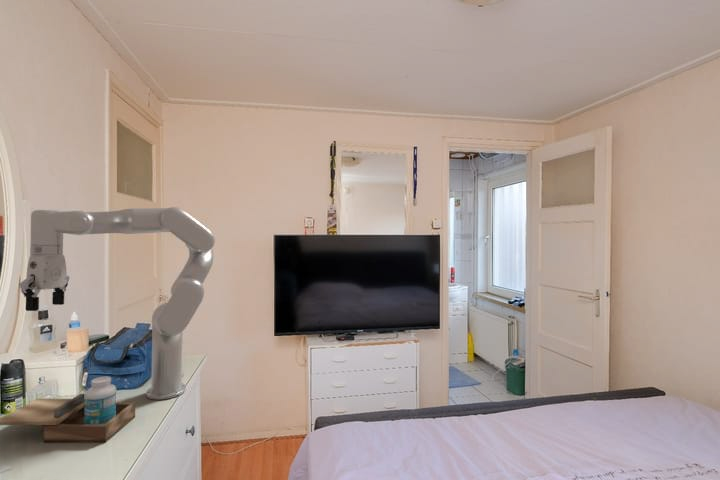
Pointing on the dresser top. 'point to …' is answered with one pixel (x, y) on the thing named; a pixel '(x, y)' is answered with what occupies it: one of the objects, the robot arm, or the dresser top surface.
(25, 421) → the lid
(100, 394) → the pill bottle
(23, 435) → the dresser top surface
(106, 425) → the box
